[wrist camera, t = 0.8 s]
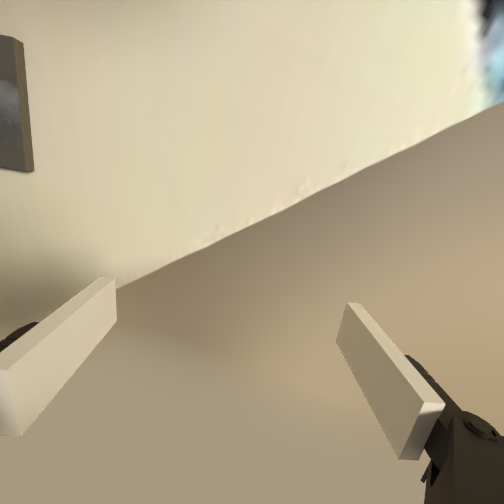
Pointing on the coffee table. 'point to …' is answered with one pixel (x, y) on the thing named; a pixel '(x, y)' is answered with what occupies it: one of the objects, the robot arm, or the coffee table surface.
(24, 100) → the stand base
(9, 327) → the coffee table surface
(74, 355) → the robot arm
